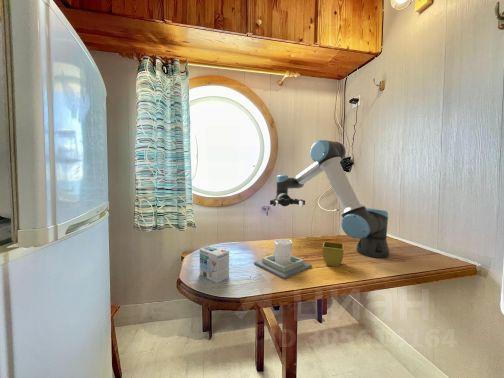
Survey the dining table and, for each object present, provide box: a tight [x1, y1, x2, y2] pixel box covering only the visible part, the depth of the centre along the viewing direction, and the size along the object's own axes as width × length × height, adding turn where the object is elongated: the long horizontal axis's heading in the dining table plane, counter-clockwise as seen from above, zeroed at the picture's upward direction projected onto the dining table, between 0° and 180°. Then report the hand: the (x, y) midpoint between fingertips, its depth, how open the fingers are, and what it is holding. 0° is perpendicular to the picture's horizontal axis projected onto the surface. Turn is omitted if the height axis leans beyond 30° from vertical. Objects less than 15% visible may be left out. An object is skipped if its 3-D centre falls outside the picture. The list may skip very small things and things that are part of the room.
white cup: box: [273, 238, 293, 266], centre depth 100 cm, size 8×8×10 cm
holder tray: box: [253, 253, 313, 280], centre depth 101 cm, size 18×18×3 cm
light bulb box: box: [199, 244, 230, 284], centre depth 89 cm, size 11×7×11 cm, turn 51°
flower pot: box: [322, 240, 345, 268], centre depth 102 cm, size 9×9×9 cm
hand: (289, 204), depth 123 cm, fingers open, 13 cm apart
